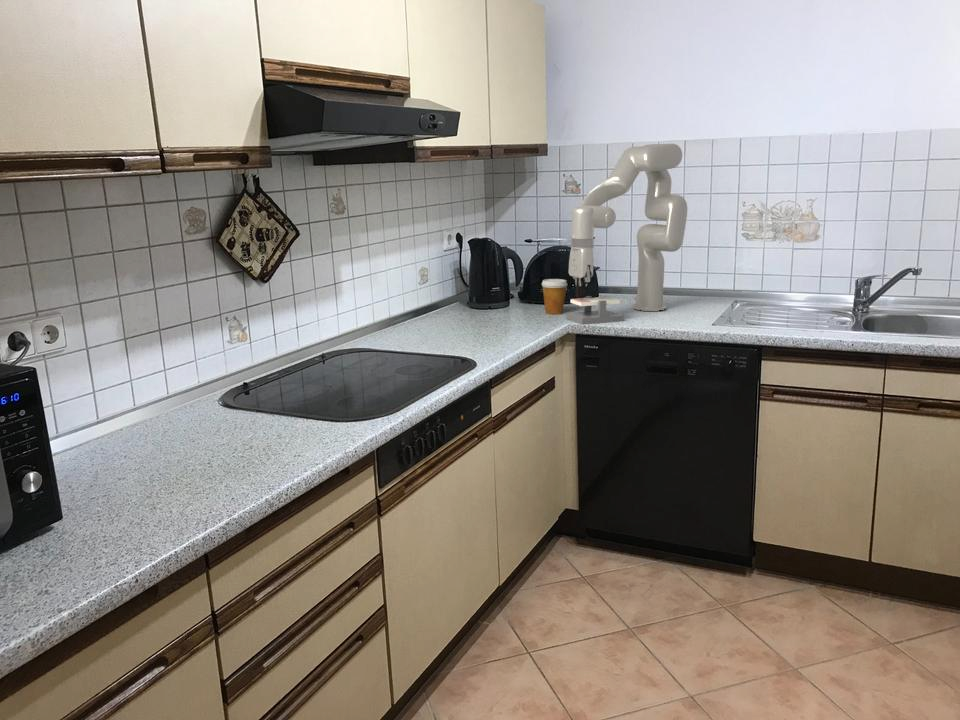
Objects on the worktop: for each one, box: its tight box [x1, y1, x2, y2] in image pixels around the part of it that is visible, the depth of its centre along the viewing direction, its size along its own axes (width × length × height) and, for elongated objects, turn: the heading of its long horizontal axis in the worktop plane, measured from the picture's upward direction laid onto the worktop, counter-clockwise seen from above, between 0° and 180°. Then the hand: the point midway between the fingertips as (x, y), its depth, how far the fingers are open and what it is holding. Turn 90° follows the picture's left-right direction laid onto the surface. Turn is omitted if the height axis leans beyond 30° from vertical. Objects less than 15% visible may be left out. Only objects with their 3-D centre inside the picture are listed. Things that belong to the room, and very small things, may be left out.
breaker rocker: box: [569, 296, 621, 307], centre depth 273 cm, size 8×15×1 cm, turn 111°
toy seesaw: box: [565, 295, 624, 325], centre depth 273 cm, size 12×16×8 cm
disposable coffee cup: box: [541, 278, 568, 315], centre depth 287 cm, size 10×10×12 cm
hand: (580, 297), depth 270 cm, fingers closed
